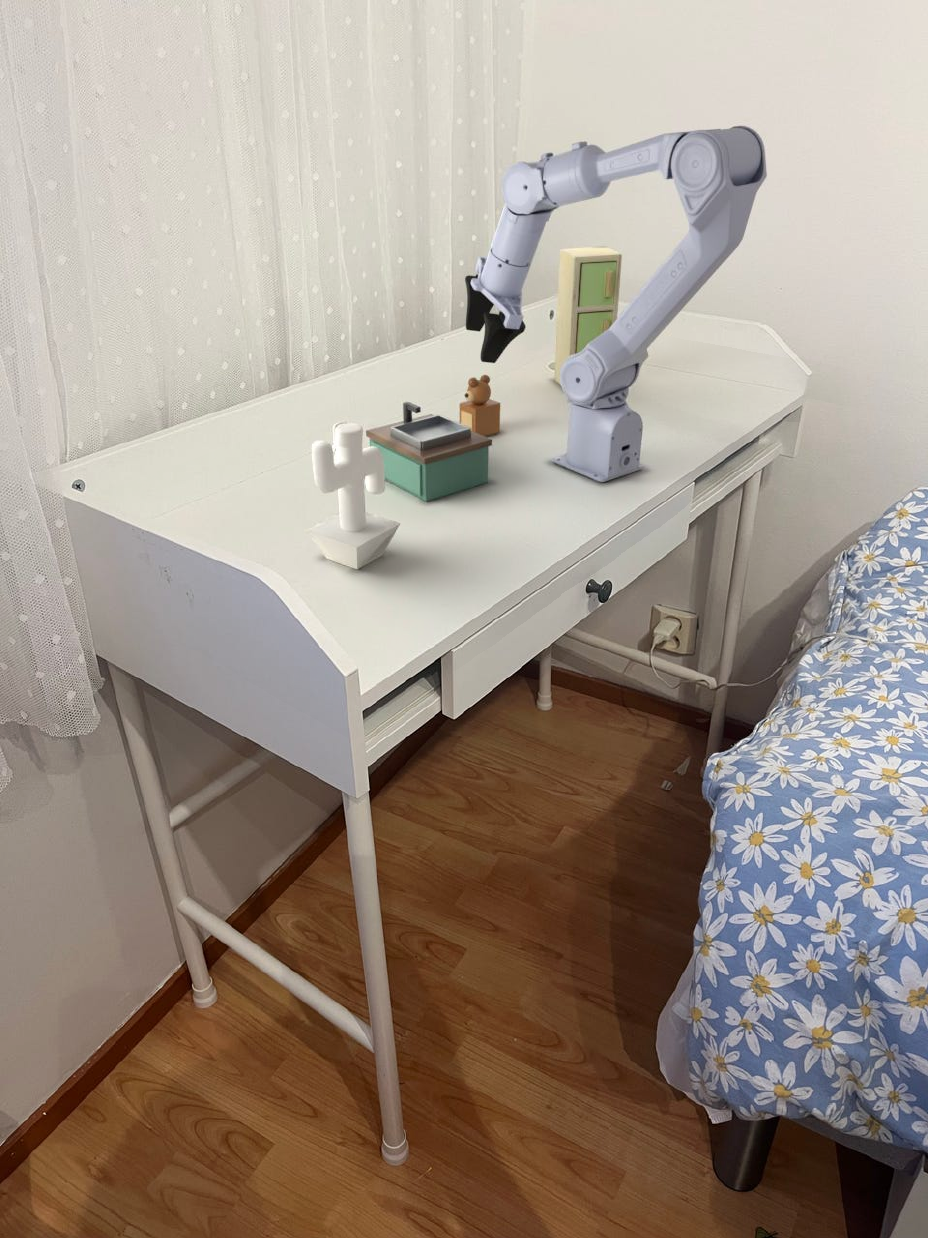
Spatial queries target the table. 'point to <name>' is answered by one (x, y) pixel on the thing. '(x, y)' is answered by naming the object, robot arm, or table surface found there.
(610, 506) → the table surface
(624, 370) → the robot arm
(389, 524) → the figurine
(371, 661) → the table surface
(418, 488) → the toy sink
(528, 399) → the table surface
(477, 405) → the toy bear
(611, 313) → the toy refrigerator
